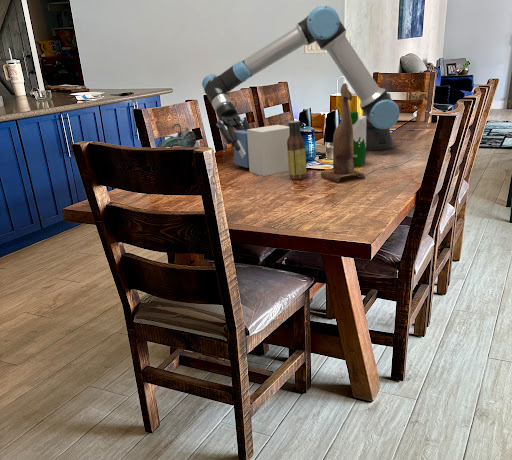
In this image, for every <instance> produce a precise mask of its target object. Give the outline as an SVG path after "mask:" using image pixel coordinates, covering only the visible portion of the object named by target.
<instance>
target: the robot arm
mask: <svg viewBox="0 0 512 460" xmlns="http://www.w3.org/2000/svg"><path fill="white" fill-rule="evenodd" d="M346 34H347V29H346V27H345V26H344V24H343V23H342V21H341V19H340V16H339V13H338V12H337V11H336V9H334V8H333V7H332V6H329V5H319V6H316V7H315V8H313V9H312V10H311V11H310V12H309V14H308V15H307V16H306V17H305V18H304V19H302V20H301V21H299V22H297V23H296V26H295V27H294V28H293V29H291V30H289V31H287V32H286V33H285V34H283V35H281V36H280V37H278V38H276V39H275V40H273V41H272V42H270V43H268V44H267V45H265V46H264V47H262V48H261V49H258V50H257V51H256V52H253V54H251V55H249V56H247V57H245V58H244V59H243V60H239V61H238V62H236V63H234V64H232V65H231V66H229V68H228V69H226V70H225V71H224V72H222V73H221V74H219V75H216V74H214V73H212V74H210V75H209V74H208V75H206V76H205V77H203V79H202V82H201V86H202V88H203V90H204V93H205V95H206V97H207V98H208V100H209V103H210V104H211V106H212V108H213V110H214V111H215V114H216V115H217V117H218V119H219V120H218V121H217V122H216V124H215V127H216V128H217V129H218V130H219V131H220V133H221V136H223V138H224V140H225V142H226V144H228V145H231V147H233V148H234V147H235V149H236V150H237V151H239V153H240V155H241V157H242V158H244V157H245V155H246V153H245V151H244V149H243V147H242V145H241V143H240V141H237V139H236V136H235V133H234V131H238V130H244V131H247V129H252V128H251V127H250V124H249V122H248V117H247V116H244V117H241V116H240V115H239V114H238V113H237V109H236V107H235V106H234V104H233V102H232V100H231V98H230V96H229V95H228V93H230V92H231V91H232V90H234V89H235V88H236V87H238V86H240V85H241V84H243V83H244V82H246V81H247V80H248V79H250V78H252V77H253V76H255V75H256V74H258V73H260V72H262V71H264V70H265V69H266V68H268V67H270V66H271V65H273V64H274V63H277V62H278V61H280V60H282V59H283V58H285V57H287V56H288V55H290V54H291V53H294V51H296V50H298V49H299V48H301V47H304V45H305V46H311V44H313V43H315V42H316V44H317V45H318V47H319V49H321V50H323V51H326V52H327V53H328V55H329V56H330V57H331V59H332V61H334V64H336V66H337V68H338V69H339V70H340V73H341V74H342V75H343V76H344V78H345V80H346V81H347V83H348V84H349V85H350V87H351V88H352V90H353V91H354V93H355V95H356V96H357V97H358V99H359V101H360V104H359V108H361V110H362V116H366V151H383V150H390V149H393V148H394V139H393V136H392V133H391V128H392V127H393V126H394V125H396V123H397V122H398V120H399V117H400V109H399V105H398V103H396V102H395V101H394V100H393V99H392V96H391V93H390V92H388V91H387V90H386V89H385V88H381V87H380V86H379V85H378V84H377V82H376V81H375V79H374V77H372V75H371V73H370V72H369V70H368V68H367V67H366V65H365V64H364V63H363V61H362V59H361V57H360V56H359V55H358V53H357V52H356V50H355V49H354V47H353V45H352V44H351V43H350V41H349V40H348V38H347V37H346ZM234 129H235V130H234Z"/></svg>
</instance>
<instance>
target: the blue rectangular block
mask: <svg viewBox="0 0 512 460" xmlns="http://www.w3.org/2000/svg"><path fill="white" fill-rule="evenodd" d="M234 133H235V136H236V139H237V141H240V143H241V145H242V147H243V149H244V151H245V153H246V155H245V157H244V158H242V157H241V155H240V153H239V151H237V150H236V149H235V147H234V146H233V154H234V155H233V156H234V164H235V165H237V166H240V167H242V168H243V167H244V168H246V169H247V168H249V154H248V139H247V131H244V130H234Z"/></svg>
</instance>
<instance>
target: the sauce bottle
mask: <svg viewBox="0 0 512 460" xmlns="http://www.w3.org/2000/svg"><path fill="white" fill-rule="evenodd" d="M287 125H288V126H289V131H290V133H289V134H290V136H289V138H288V140H287V153H288V167H289V171H288V175H289V178H290V179H291V180H303V179H306V178H307V172H308V170H307V158H306V157H307V155H306V146H305V140H304V138H303V136H302V134H301V121H300V120H290V121H288V124H287Z"/></svg>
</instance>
